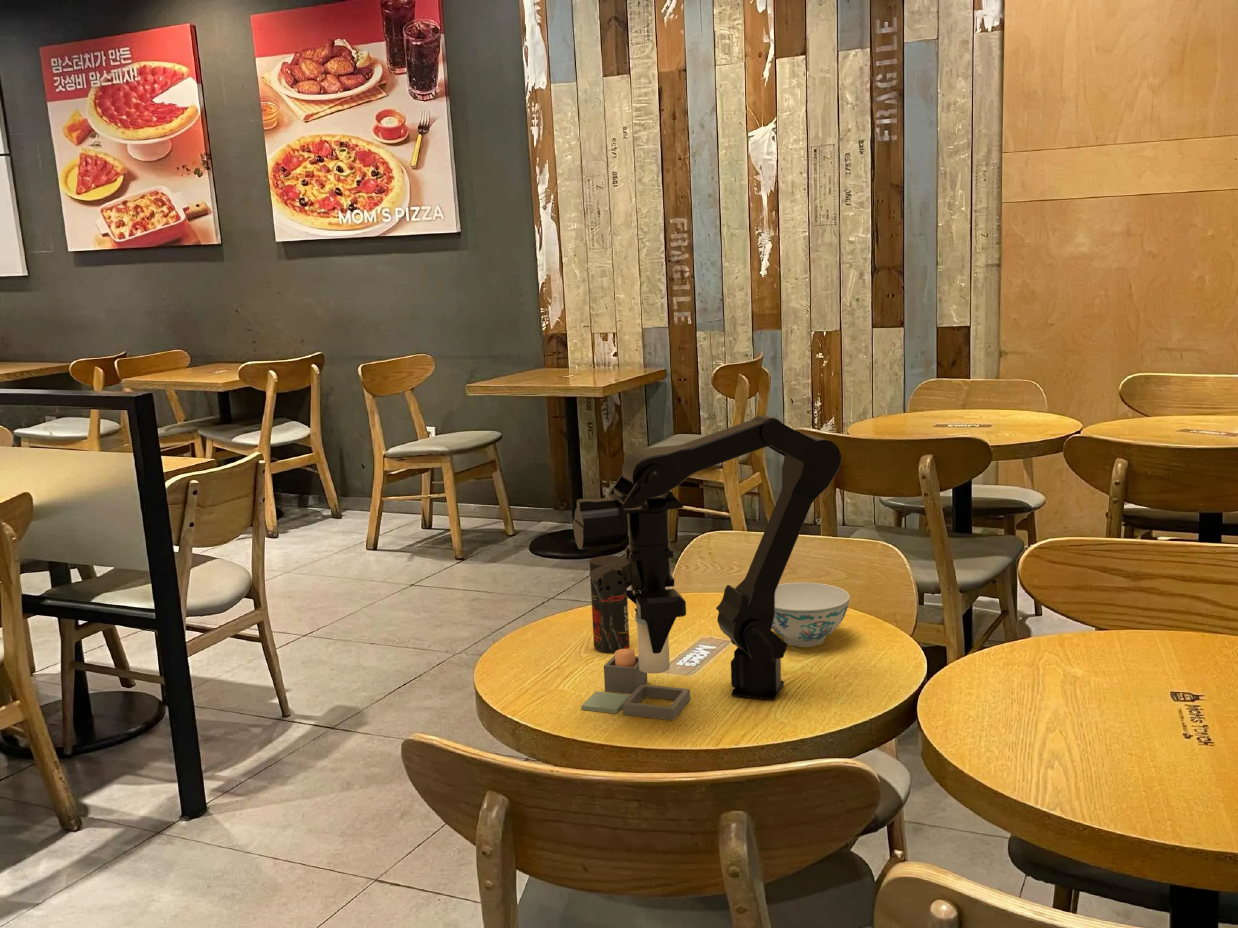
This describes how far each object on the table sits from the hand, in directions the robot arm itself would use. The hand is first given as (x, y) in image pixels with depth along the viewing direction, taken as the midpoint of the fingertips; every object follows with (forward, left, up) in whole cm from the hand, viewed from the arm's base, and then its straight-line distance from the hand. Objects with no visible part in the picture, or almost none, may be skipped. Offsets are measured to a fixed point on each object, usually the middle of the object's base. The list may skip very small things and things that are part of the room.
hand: (653, 647), depth 157 cm
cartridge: (0, 0, -3) cm, 3 cm away
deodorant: (+15, -22, -9) cm, 28 cm away
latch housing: (+7, -6, -9) cm, 13 cm away
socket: (0, 0, -9) cm, 9 cm away
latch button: (+7, -6, -8) cm, 12 cm away
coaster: (+7, +1, -9) cm, 12 cm away
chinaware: (-15, -33, -9) cm, 37 cm away
